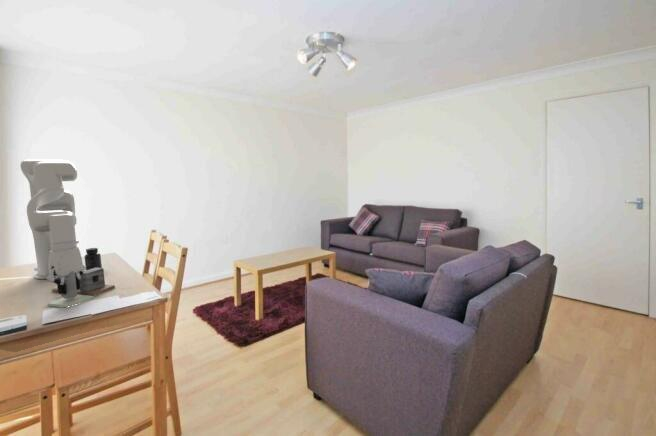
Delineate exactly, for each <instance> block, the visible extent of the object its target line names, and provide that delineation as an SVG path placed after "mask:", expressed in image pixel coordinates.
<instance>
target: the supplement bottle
mask: <svg viewBox="0 0 656 436" xmlns="http://www.w3.org/2000/svg"><path fill="white" fill-rule="evenodd" d="M83 259H84V264H85V265H84V266H85V267H86V270H90V269H93V268H103V266H102V265H103V264H102V256H101V253H99V250H98V247H90V248H86V249H85V255H84V258H83ZM86 270H85V271H86Z"/></svg>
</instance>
